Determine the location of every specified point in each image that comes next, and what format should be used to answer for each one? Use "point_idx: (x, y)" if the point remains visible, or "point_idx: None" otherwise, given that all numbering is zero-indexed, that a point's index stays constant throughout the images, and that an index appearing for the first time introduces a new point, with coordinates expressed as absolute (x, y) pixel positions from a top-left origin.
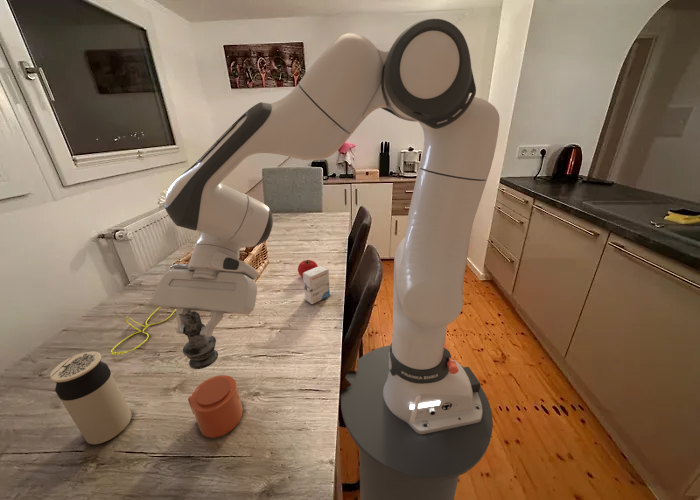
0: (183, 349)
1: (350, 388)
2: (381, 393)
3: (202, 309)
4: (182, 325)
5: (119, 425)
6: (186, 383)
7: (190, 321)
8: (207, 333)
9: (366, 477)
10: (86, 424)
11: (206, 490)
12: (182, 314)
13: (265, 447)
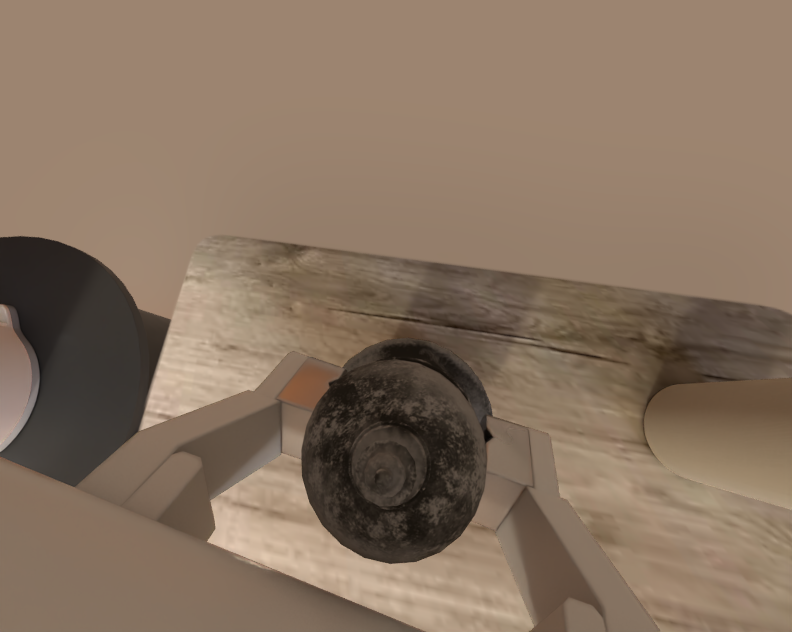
0: (484, 398)
1: (100, 441)
2: (36, 412)
3: (248, 559)
4: (508, 464)
5: (659, 410)
6: None
7: (370, 363)
8: (286, 360)
9: None
10: (743, 380)
11: (400, 263)
12: (565, 613)
13: (303, 321)
